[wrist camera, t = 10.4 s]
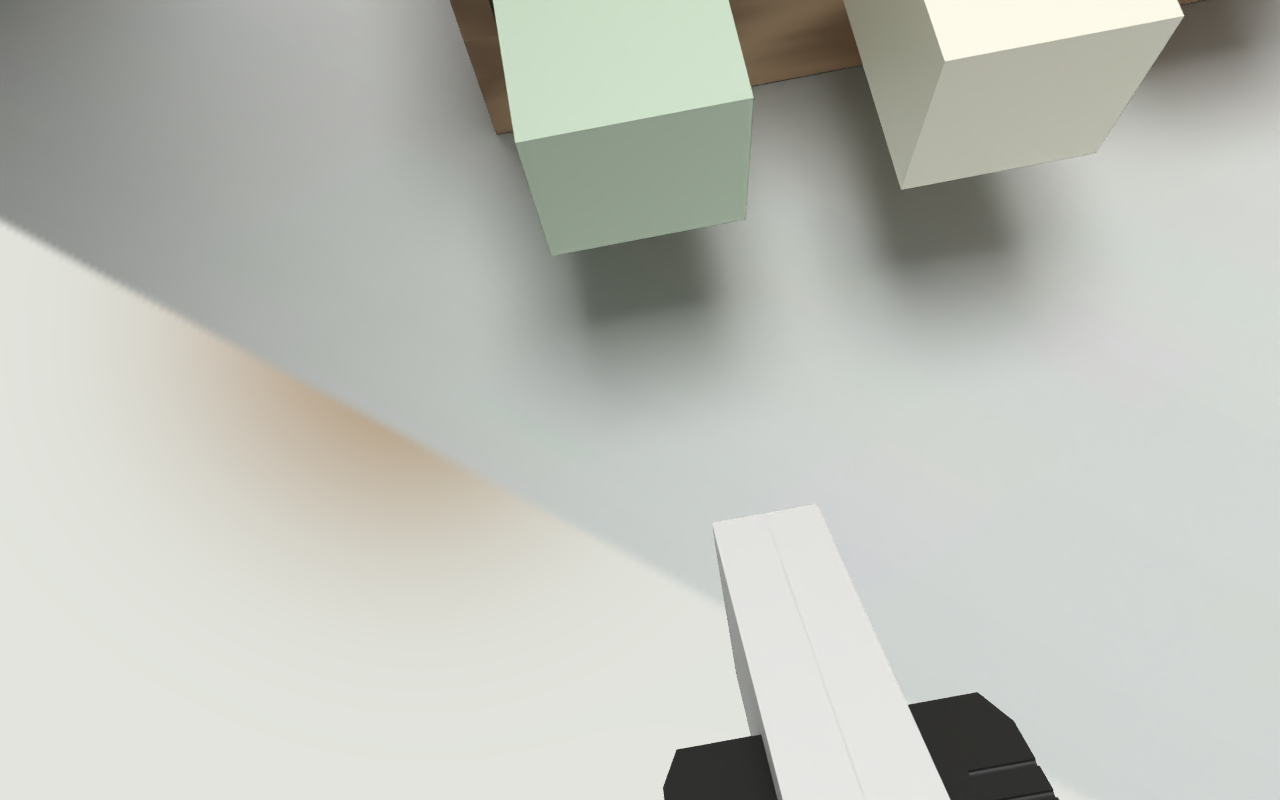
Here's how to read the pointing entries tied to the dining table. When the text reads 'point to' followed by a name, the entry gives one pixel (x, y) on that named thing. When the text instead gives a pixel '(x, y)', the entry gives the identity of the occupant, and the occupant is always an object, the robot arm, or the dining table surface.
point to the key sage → (627, 115)
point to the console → (766, 27)
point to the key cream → (1002, 77)
